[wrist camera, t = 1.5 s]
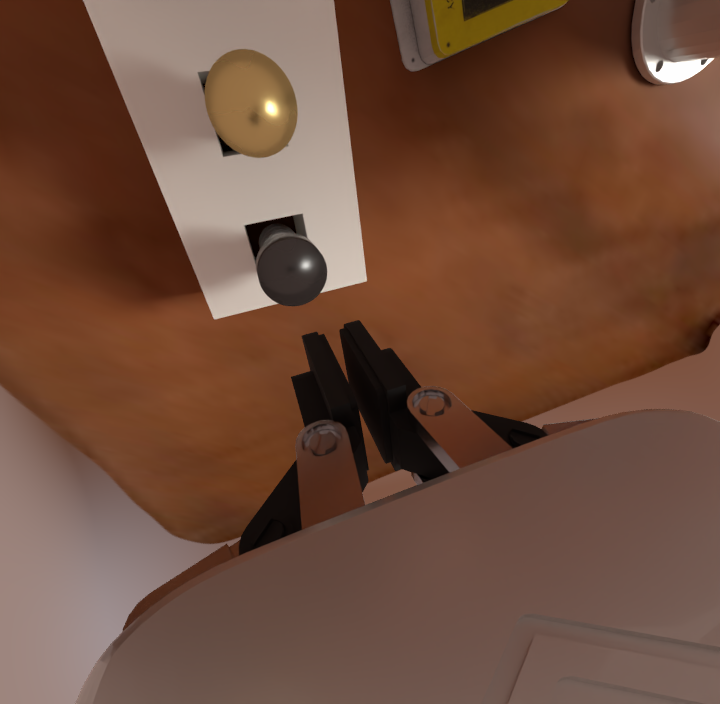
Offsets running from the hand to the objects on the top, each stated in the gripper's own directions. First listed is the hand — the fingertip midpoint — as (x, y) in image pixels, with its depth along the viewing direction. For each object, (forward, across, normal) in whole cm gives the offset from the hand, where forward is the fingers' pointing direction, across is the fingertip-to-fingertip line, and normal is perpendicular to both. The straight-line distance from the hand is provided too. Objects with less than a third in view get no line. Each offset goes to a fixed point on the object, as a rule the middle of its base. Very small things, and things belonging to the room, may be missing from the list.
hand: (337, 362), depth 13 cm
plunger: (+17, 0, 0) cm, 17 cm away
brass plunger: (+17, 0, -8) cm, 18 cm away
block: (+21, 0, -8) cm, 23 cm away
